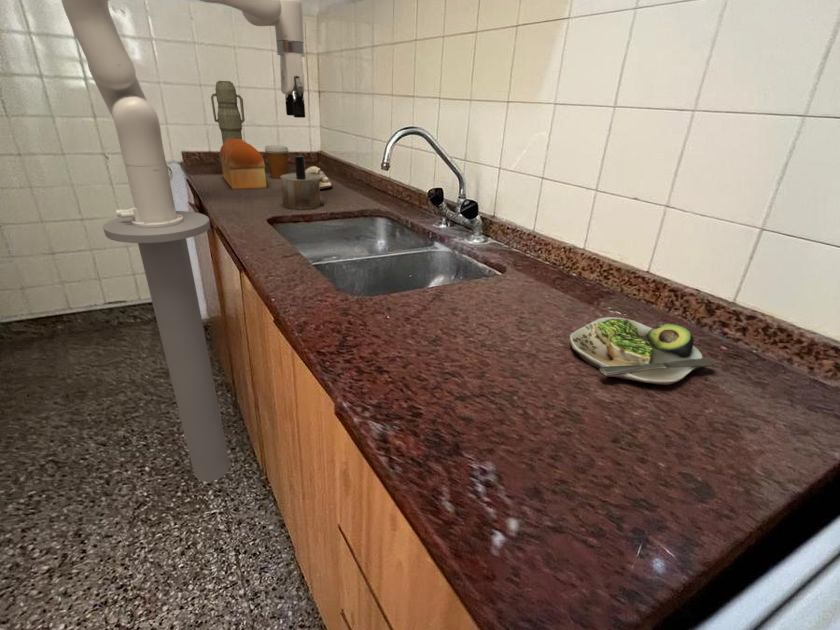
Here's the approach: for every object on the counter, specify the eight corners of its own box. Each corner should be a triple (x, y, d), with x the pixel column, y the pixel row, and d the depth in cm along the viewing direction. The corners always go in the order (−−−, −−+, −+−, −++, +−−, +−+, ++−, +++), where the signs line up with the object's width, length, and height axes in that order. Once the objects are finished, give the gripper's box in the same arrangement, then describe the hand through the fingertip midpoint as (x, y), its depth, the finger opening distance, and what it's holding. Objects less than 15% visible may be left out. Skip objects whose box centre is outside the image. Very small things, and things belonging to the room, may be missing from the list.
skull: (337, 182, 177) (332, 164, 167) (331, 204, 173) (326, 187, 164) (307, 179, 178) (300, 161, 168) (301, 201, 174) (294, 184, 164)
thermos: (251, 174, 191) (240, 81, 176) (221, 174, 188) (207, 80, 172) (251, 170, 199) (240, 81, 183) (222, 171, 195) (209, 80, 179)
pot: (288, 210, 138) (285, 182, 134) (280, 202, 147) (278, 175, 143) (324, 208, 143) (323, 180, 139) (315, 200, 152) (313, 174, 148)
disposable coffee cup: (286, 179, 184) (283, 148, 179) (263, 178, 184) (260, 147, 179) (293, 175, 192) (291, 146, 187) (272, 174, 193) (269, 144, 187)
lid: (285, 184, 134) (282, 159, 131) (277, 177, 144) (275, 154, 141) (325, 182, 139) (324, 158, 136) (315, 176, 149) (314, 153, 146)
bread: (222, 177, 182) (216, 138, 175) (254, 176, 187) (250, 138, 181) (232, 189, 162) (225, 145, 156) (267, 187, 168) (263, 145, 161)
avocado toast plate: (658, 415, 55) (669, 384, 53) (540, 352, 67) (546, 325, 65) (721, 366, 66) (732, 338, 64) (610, 320, 78) (616, 296, 76)
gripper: (271, 50, 131) (277, 114, 139) (283, 46, 117) (289, 118, 125) (297, 52, 134) (301, 115, 142) (312, 49, 121) (315, 118, 128)
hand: (295, 116), depth 133 cm, fingers open, 9 cm apart
